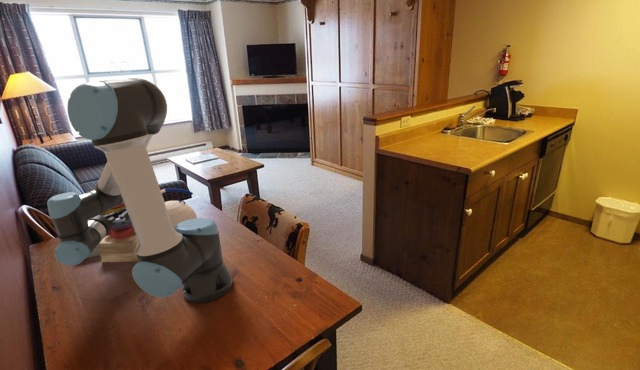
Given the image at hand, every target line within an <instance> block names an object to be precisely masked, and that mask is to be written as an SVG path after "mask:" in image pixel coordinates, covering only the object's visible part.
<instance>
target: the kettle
mask: <svg viewBox="0 0 640 370" xmlns="http://www.w3.org/2000/svg"><path fill="white" fill-rule="evenodd" d="M160 190H161V193H162V194H163V193H168V192H176V193H177V192H178V193H185V194H187V195H189V196H192V195H194V193H193V192H192V191H190V190H187V189H184V188H177V187H173V188H172V187H171V188H170V187H169V188H168V187H167V188H163V189H160ZM164 202H165V205H166V208H167V211H168V214H169V217H170V220H171V222H172V225H173V228H174V231H175V230H176V229H175V227H176V225H177V224H179V223H181V222H183V221H186V220H190V219H197V214H196V212H195V210H194V209H193V208H192V206H190V205H189V204H187V203H186V202H185V201H183V200H168V201H164Z"/></svg>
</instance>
